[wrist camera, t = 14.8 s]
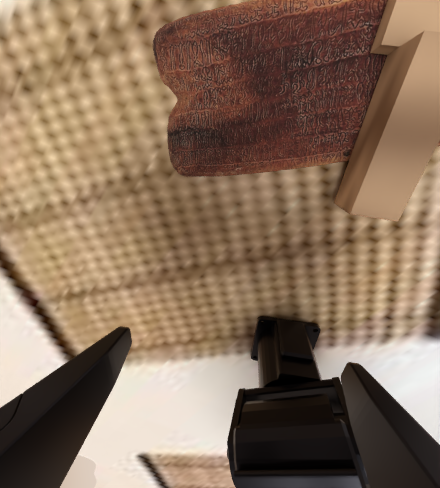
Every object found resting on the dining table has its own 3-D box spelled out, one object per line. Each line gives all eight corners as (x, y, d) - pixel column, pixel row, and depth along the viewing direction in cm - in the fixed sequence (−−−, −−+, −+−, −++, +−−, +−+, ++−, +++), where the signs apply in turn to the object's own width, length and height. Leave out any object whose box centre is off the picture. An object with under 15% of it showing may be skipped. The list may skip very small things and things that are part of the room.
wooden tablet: (707, -111, 9) (604, 141, 12) (623, -59, 11) (553, 146, 14) (141, 18, 14) (166, 181, 17) (156, 39, 16) (176, 180, 19)
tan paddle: (387, 210, 16) (414, 223, 14) (320, 200, 17) (334, 211, 14) (574, -178, 9) (712, -316, 6) (448, -182, 9) (529, -316, 7)
